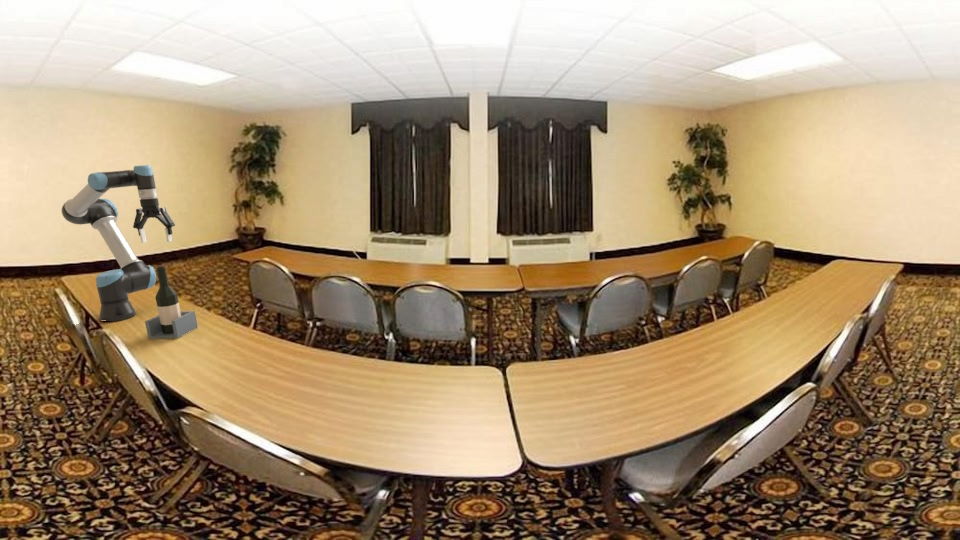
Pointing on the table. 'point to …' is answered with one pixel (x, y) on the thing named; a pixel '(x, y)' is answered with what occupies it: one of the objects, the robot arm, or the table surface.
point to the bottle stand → (179, 325)
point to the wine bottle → (166, 302)
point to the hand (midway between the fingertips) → (157, 241)
